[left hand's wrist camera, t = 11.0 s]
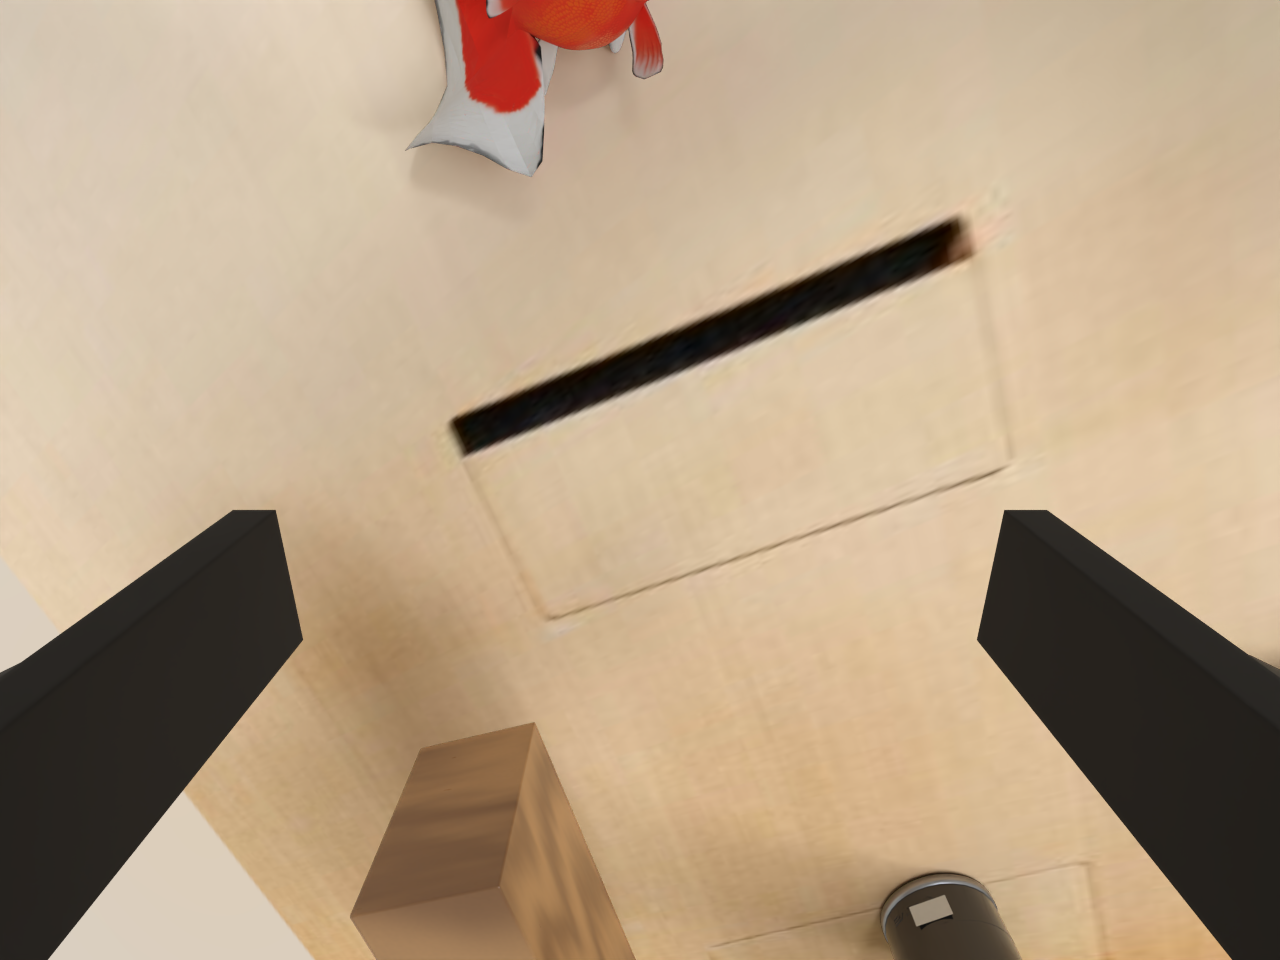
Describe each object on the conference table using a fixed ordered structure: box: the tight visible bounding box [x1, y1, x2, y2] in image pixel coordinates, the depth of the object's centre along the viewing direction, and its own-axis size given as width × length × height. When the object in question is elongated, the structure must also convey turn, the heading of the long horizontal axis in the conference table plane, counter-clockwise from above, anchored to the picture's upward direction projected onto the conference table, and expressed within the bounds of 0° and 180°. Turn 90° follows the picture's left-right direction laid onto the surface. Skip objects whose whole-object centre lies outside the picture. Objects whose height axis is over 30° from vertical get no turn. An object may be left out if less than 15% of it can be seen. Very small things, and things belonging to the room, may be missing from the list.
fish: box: [405, 0, 663, 177], centre depth 31 cm, size 11×16×10 cm
